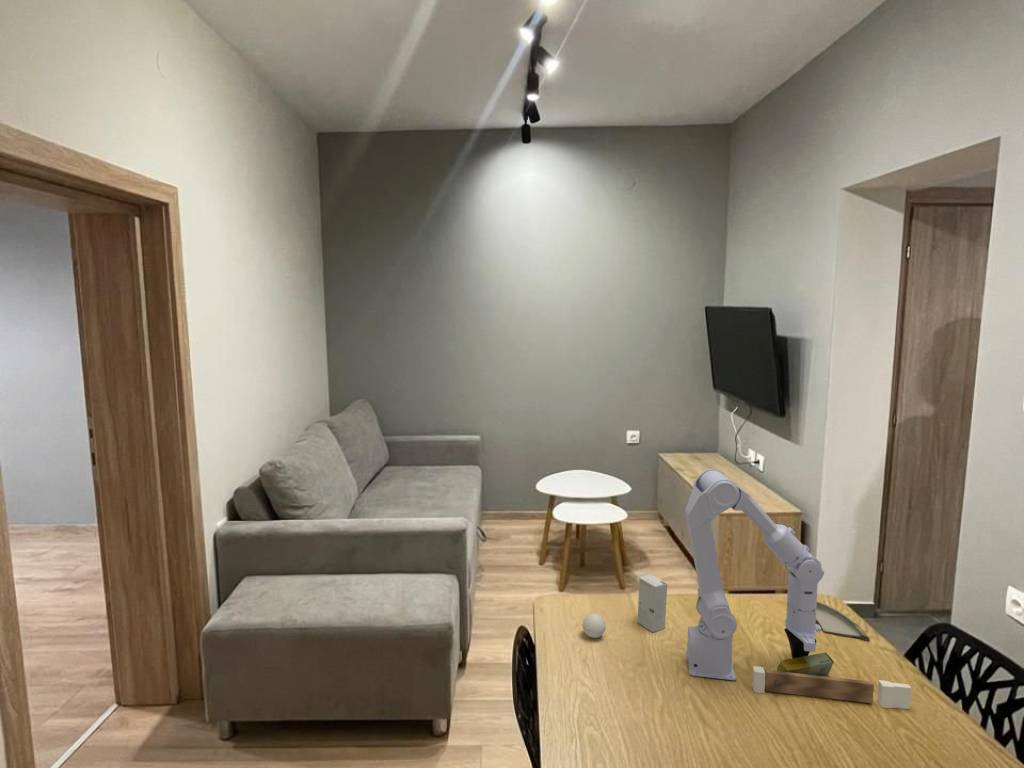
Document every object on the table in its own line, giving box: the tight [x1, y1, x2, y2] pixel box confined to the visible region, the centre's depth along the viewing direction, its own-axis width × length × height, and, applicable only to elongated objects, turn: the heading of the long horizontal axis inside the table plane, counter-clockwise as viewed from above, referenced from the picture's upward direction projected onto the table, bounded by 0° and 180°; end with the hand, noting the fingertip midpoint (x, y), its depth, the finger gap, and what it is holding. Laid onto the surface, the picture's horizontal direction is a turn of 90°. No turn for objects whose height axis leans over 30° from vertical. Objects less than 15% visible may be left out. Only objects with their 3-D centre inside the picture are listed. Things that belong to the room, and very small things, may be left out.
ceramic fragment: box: [816, 600, 871, 642], centre depth 145 cm, size 18×7×5 cm, turn 25°
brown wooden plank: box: [764, 669, 875, 704], centre depth 117 cm, size 20×2×4 cm, turn 78°
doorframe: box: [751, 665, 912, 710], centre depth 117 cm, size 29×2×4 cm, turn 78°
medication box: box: [776, 652, 834, 676], centre depth 124 cm, size 12×3×4 cm, turn 106°
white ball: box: [575, 612, 607, 639], centre depth 141 cm, size 8×6×6 cm
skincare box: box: [637, 573, 668, 633], centre depth 146 cm, size 6×4×12 cm
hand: (798, 664), depth 127 cm, fingers closed
